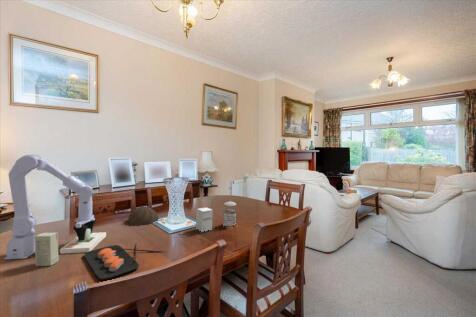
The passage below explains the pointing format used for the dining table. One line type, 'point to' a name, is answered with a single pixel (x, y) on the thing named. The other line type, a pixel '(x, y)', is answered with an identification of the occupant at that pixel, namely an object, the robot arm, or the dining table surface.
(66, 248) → the hole board
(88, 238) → the peg
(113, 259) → the sushi plate
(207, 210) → the supplement box
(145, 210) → the decorative dome
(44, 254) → the skincare box
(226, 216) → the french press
